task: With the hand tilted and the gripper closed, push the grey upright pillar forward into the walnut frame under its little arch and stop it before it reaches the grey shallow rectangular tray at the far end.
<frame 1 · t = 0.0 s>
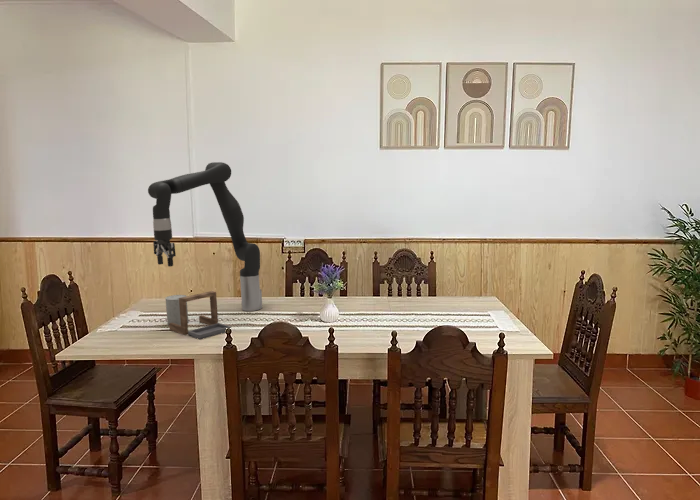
hand: (165, 265, 275), 29 cm above the table, tool pointing down, fingers open, 8 cm apart
grey shallow rectangular tray: (209, 333, 273), on the table
walnut frame: (194, 328, 281), on the table
grey upright pillar: (178, 323, 291), on the table
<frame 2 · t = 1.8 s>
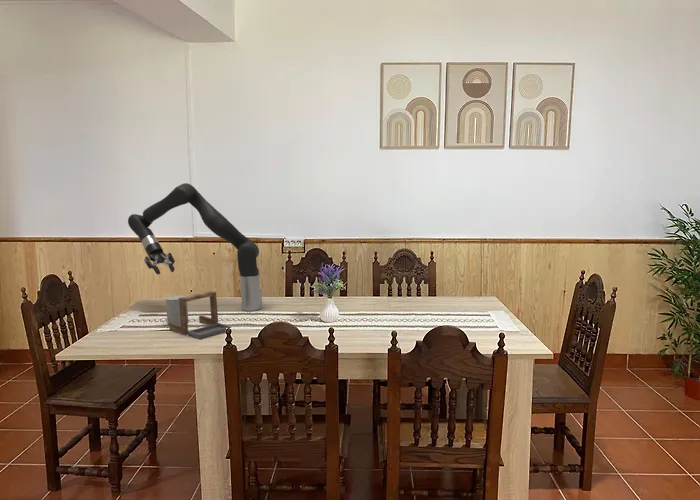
hand: (166, 272, 305), 21 cm above the table, tool tilted 45°, fingers open, 7 cm apart
nothing on the table moved.
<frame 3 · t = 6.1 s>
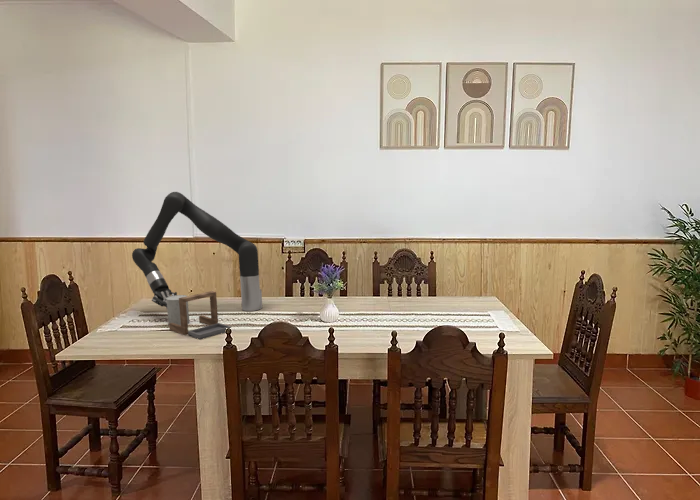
hand: (172, 311, 293), 5 cm above the table, tool tilted 45°, fingers closed
grey upright pillar: (178, 323, 290), on the table, touching gripper
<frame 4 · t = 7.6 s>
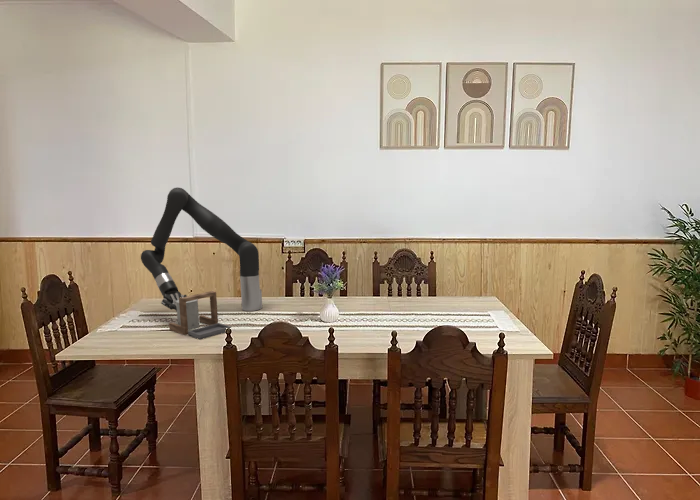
hand: (182, 314, 287), 5 cm above the table, tool tilted 45°, fingers closed
grey upright pillar: (188, 327, 284), on the table, touching gripper
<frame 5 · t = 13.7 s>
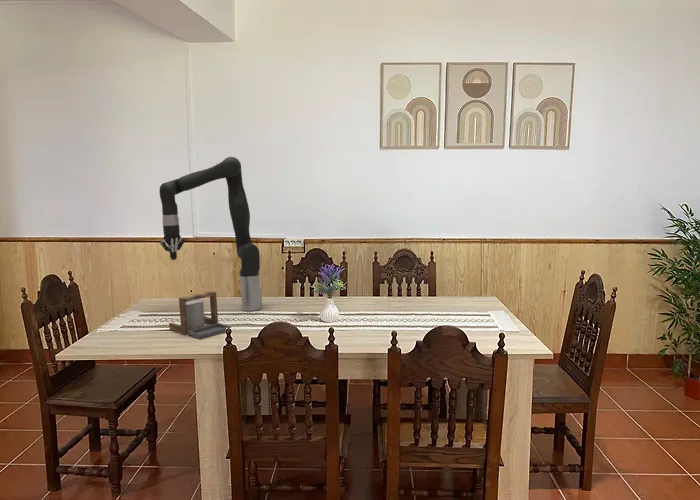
hand: (173, 259, 303), 27 cm above the table, tool pointing down, fingers closed
grey upright pillar: (194, 329, 281), on the table
at the end: grey upright pillar inside the target area (0.7 cm from its centre), on the table; grey upright pillar tilted 0°; grey upright pillar touching table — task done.
